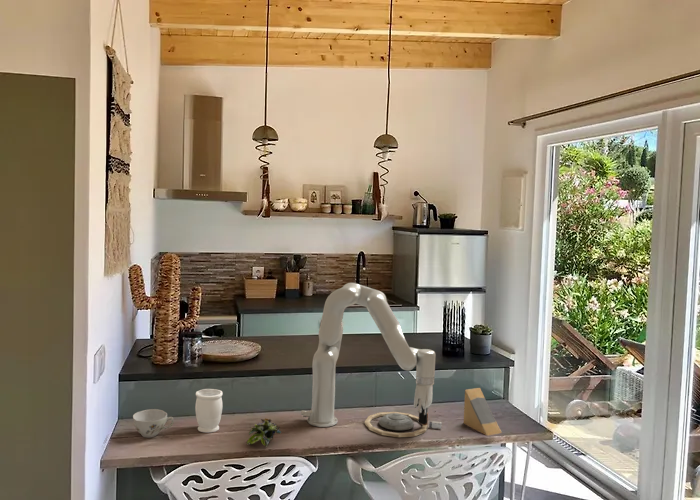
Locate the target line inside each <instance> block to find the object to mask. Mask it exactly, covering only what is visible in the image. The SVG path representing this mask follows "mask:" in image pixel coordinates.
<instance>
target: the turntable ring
mask: <svg viewBox="0 0 700 500" xmlns="http://www.w3.org/2000/svg"><path fill="white" fill-rule="evenodd" d="M391 413H399V414H403V415H406V416H408V417H409V418H410V419H411V420H414V421H417V422H419V416H417V415H414V414H411V413H407V412H400V411H399V412H398V411H384V412H383V411H380V412H377V413H374V414H370V415H368V416H367V418H366V419H365V421H364V425H365V426H366V427H367V429H368V430H369V431H371V432H374V433H376V434H378V435H380V436H388V437H393V438H409V437H411V438H412V437H417V436H420V435H421V434H425V433H426V431H427V429H428V427H429V421H428V420H429V412H428V413H426V414H428V416H427V423H426V424H421V425H422V426H421V428H420V429H417V430H415V431H411V432H394V431H393V432H392V431H388V430H387V431H386V430H382V429H380V428H377V427H375V426H373V425H372V424H371V422H372V420H373V419H377V418H381V417H383V416H385V415H387V414H391Z"/></svg>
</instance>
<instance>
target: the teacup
mask: <svg viewBox="0 0 700 500" xmlns="http://www.w3.org/2000/svg"><path fill="white" fill-rule="evenodd" d="M132 418H133V419H132V421H133V425H134V427H135V429H136V431H137V433H139V434H141V436H142V437H144V438H155V437H156V436H158V434H160V432H162V431H163V430H166V429H169V428H171V427H172V426H173V424H174V417H173V416H168V413H167V412H166V411H164V410H162V409H157V408H154V409H153V408H151V409H149V408H148V409H145V410H143V409H142V410H140V411H137V412H135V413H134V414H133V415H132ZM169 420H170V421H171V423H170V424H168V425H167V426H165V425H166V424H167V422H169Z"/></svg>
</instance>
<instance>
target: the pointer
mask: <svg viewBox="0 0 700 500" xmlns="http://www.w3.org/2000/svg"><path fill="white" fill-rule="evenodd" d="M442 425H443V424H442V421H433V420H432V421H428V427H429V428H428V429H434V430H442V427H443V426H442Z"/></svg>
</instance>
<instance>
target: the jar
mask: <svg viewBox="0 0 700 500" xmlns="http://www.w3.org/2000/svg"><path fill="white" fill-rule="evenodd" d="M222 396H223V391H222V390H220V389H216V388H203V389H200V390H197V391H196V392H195V397H196V399H195V400H196V401H195V405H194V406H195V408H194V410H195V417H196V422H197V424H198V425H197V426H198V427H197V430H198V432H200V433H204V434H205V433H208V434H210V433H215V432H217V431H219V430H220V426H219V424H220V422H221V418H222V413H223V398H222Z"/></svg>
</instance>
